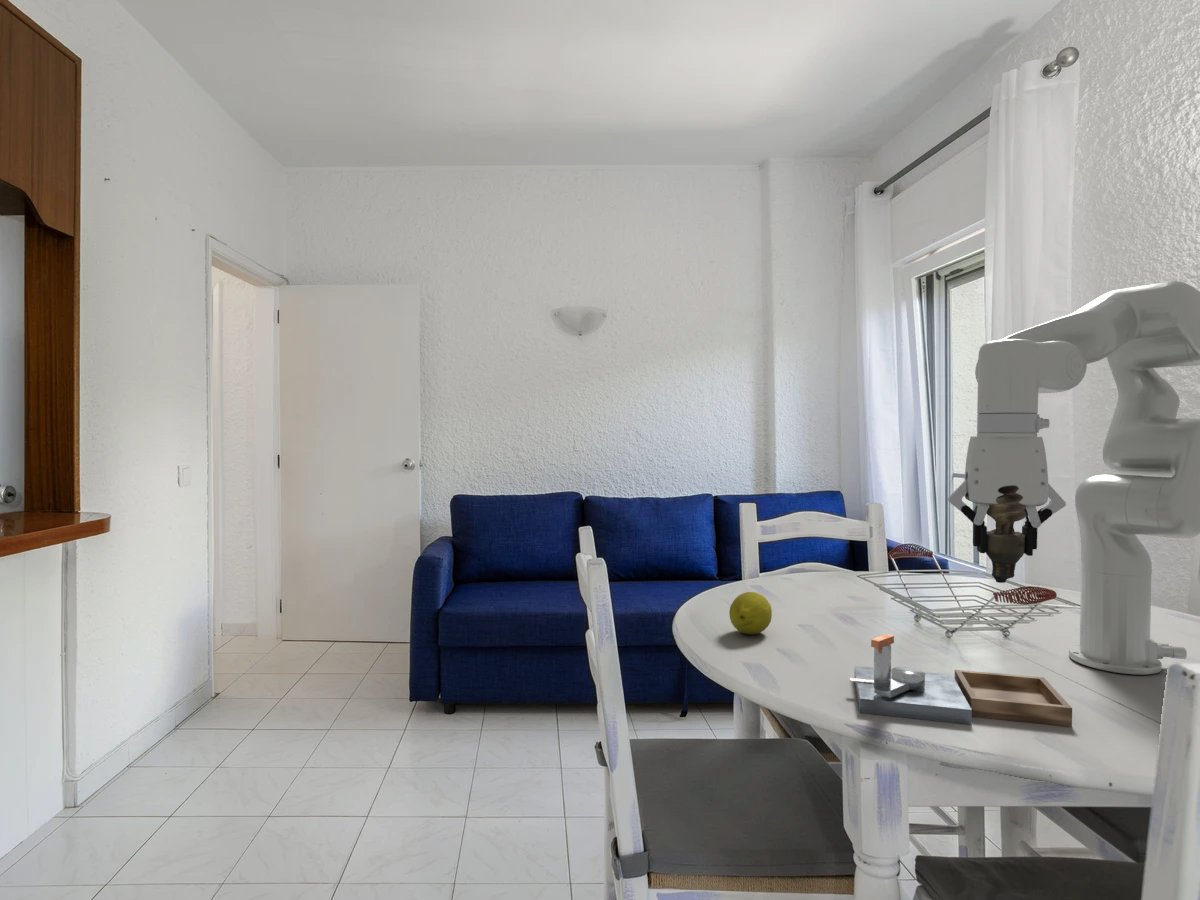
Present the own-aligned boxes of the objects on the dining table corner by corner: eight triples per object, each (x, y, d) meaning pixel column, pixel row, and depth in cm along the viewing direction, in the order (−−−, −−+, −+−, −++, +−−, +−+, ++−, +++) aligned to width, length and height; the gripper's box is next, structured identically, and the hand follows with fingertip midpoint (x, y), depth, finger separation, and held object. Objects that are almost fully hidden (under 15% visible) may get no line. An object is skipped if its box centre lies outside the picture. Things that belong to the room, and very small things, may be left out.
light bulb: (987, 577, 105) (990, 477, 105) (1029, 582, 102) (1032, 479, 101) (977, 582, 101) (980, 478, 101) (1021, 588, 98) (1024, 480, 97)
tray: (1043, 694, 104) (1043, 677, 104) (1071, 726, 93) (1072, 708, 93) (954, 685, 108) (954, 669, 108) (971, 716, 97) (971, 698, 96)
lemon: (744, 624, 142) (744, 585, 142) (780, 631, 137) (780, 590, 137) (717, 636, 134) (717, 595, 134) (755, 644, 129) (755, 601, 129)
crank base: (952, 687, 107) (952, 673, 107) (971, 724, 94) (971, 708, 94) (847, 677, 112) (847, 664, 112) (852, 711, 98) (852, 696, 98)
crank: (901, 676, 106) (902, 622, 105) (930, 684, 102) (931, 629, 102) (859, 694, 99) (860, 636, 98) (889, 703, 95) (889, 644, 95)
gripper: (1067, 427, 102) (1064, 552, 102) (937, 427, 107) (935, 545, 108) (1084, 426, 95) (1081, 561, 95) (944, 426, 100) (942, 553, 101)
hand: (1004, 551), depth 101 cm, fingers closed on light bulb, 5 cm apart
